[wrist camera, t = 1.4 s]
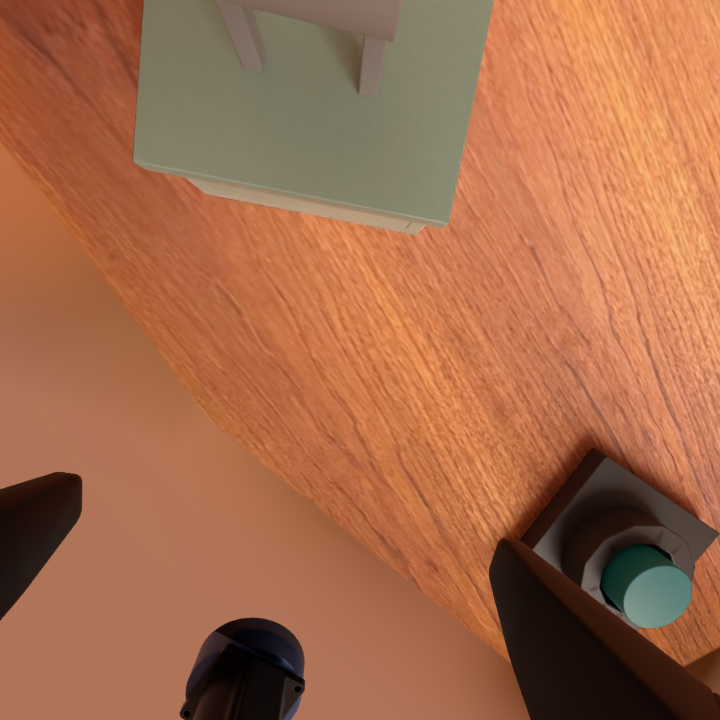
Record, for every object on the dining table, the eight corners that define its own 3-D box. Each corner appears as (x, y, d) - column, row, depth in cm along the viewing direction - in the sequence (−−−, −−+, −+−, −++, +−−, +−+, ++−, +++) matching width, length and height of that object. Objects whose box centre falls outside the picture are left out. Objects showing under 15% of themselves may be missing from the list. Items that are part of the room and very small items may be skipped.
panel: (608, 631, 25) (644, 676, 22) (499, 566, 24) (521, 605, 21) (701, 522, 24) (752, 553, 21) (592, 447, 23) (630, 469, 20)
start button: (635, 613, 22) (660, 640, 20) (587, 583, 21) (608, 608, 19) (677, 563, 21) (707, 586, 20) (629, 532, 21) (655, 553, 19)
